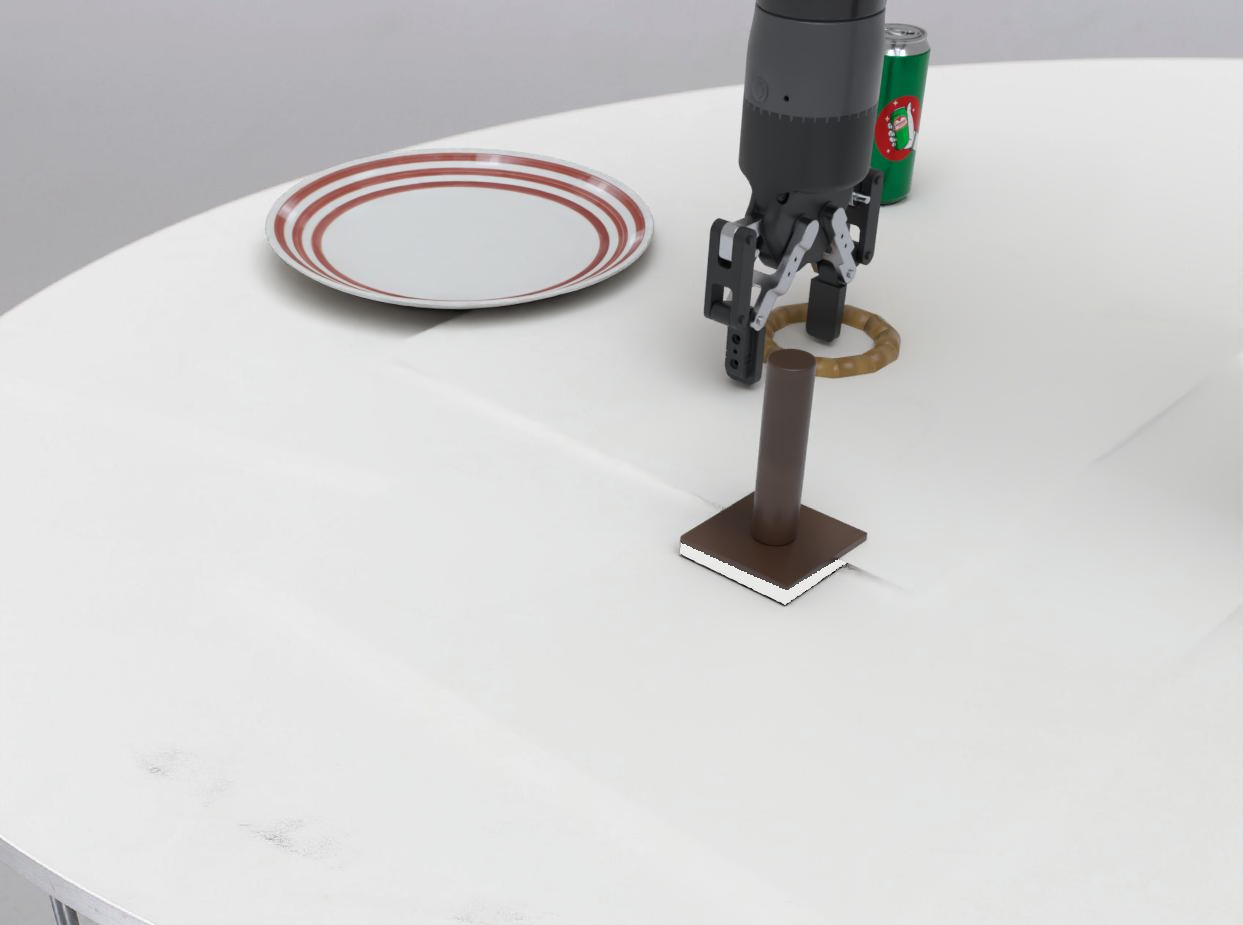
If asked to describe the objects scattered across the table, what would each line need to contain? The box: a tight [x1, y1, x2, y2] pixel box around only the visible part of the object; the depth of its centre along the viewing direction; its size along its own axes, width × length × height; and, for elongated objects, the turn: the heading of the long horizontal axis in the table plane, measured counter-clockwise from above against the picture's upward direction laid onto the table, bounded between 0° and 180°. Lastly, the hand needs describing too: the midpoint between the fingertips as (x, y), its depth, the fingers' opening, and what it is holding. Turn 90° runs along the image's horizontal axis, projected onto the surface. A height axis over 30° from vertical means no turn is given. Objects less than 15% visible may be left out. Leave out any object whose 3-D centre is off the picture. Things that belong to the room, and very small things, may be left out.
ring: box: [763, 301, 902, 379], centre depth 104 cm, size 10×10×2 cm
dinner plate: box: [264, 147, 655, 310], centre depth 116 cm, size 28×27×3 cm
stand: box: [679, 348, 868, 590], centre depth 82 cm, size 7×7×11 cm
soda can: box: [870, 22, 932, 205], centre depth 121 cm, size 5×5×12 cm
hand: (783, 357), depth 101 cm, fingers open, 7 cm apart
